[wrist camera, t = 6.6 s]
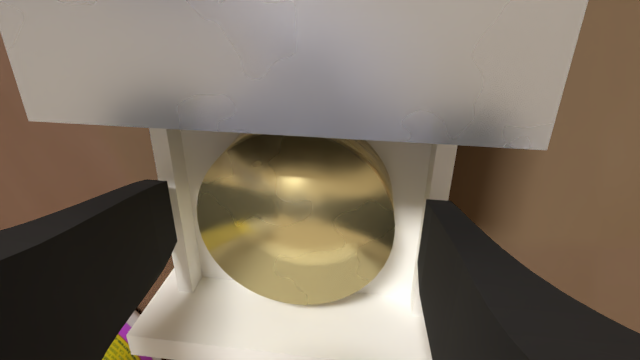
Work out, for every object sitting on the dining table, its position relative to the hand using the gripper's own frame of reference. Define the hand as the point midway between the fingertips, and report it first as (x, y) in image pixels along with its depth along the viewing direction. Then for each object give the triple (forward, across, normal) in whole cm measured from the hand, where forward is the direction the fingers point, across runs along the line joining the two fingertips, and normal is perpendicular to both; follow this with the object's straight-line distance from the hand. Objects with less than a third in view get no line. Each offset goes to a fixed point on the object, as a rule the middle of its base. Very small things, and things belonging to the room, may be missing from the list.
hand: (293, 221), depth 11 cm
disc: (+1, 0, 0) cm, 1 cm away
